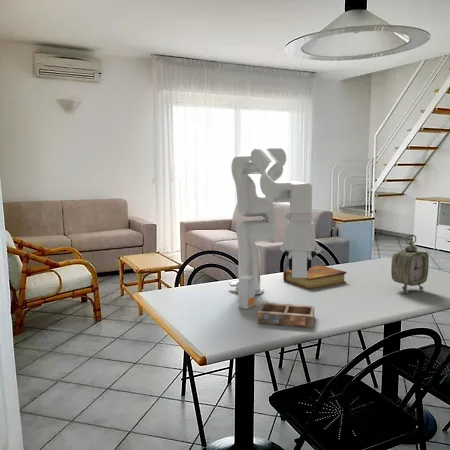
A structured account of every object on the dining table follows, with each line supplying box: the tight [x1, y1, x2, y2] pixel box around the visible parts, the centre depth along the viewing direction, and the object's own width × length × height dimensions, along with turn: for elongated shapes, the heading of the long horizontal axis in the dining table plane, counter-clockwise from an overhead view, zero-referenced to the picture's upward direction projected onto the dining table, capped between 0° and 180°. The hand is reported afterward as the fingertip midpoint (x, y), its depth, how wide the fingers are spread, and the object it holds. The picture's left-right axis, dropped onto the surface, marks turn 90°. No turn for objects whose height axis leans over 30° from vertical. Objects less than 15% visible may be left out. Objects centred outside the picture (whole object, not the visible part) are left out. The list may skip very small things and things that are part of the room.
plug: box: [292, 251, 308, 278], centre depth 155 cm, size 5×5×11 cm
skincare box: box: [238, 275, 256, 310], centre depth 174 cm, size 6×4×12 cm
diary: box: [282, 264, 347, 290], centre depth 212 cm, size 23×19×6 cm
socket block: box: [257, 302, 315, 329], centre depth 158 cm, size 19×12×4 cm, turn 76°
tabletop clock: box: [390, 234, 430, 295], centre depth 194 cm, size 14×9×25 cm, turn 123°
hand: (300, 269), depth 155 cm, fingers closed on plug, 5 cm apart
